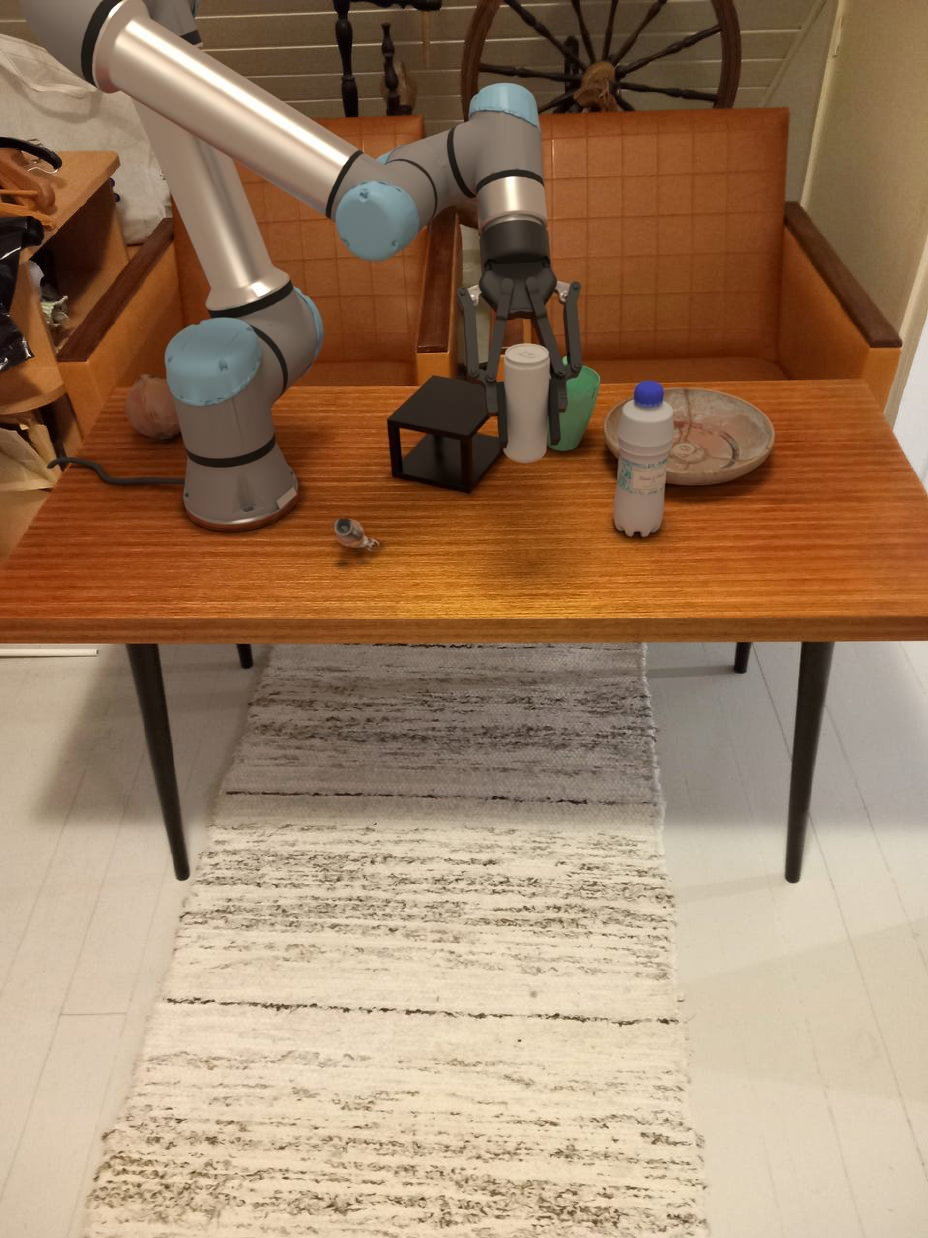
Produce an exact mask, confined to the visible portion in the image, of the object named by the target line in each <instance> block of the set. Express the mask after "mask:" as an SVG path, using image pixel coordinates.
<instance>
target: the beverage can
mask: <svg viewBox="0 0 928 1238" xmlns="http://www.w3.org/2000/svg"><path fill="white" fill-rule="evenodd" d="M549 371H550V358H549V352H548V350H547V349H546V348H544V347H542V346H540V344H536V343H518V344H513V345H512V346H510V347H508V348H507V349H506V350H505V352H504V357H503V381H504V390H505V403H506V417H507V430H508V445H507V448H504V449H503V450H504V455H505V456H506V457H507V458H508V459H509V460H511V461H513V462H516V463H520V464H530V463H535V462H538V461H539V460H540V459H542V458H543V457H544V456H545V455H546V452H547V447H548V445H547V425H548V399H549Z"/></svg>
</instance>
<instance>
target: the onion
mask: <svg viewBox="0 0 928 1238" xmlns="http://www.w3.org/2000/svg"><path fill="white" fill-rule="evenodd" d="M124 412H125V416H126V418H127V421H128V422H129V424H130V425H131V426H132V427H133V428H134V430H135V431H137V432H138V433H140V434H142V435H144V436H146V437H149V438H150V439H154V440H160V441H164V440H172V439H173V437H175V436H178V435H179V434H180V433H181V430H180V426H179V422H178V418H177V414H176V410H175V406H174V402H173V398H172V394H171V391H170V389H169V386H168V384H167V378H160V377H159V376H155V375H154V374H148V373H143V374H141V375H140V378H137V379H136V380H134V383H133V384H132V386H131V388H129V390H128V393H127V395H126V397H125V400H124Z"/></svg>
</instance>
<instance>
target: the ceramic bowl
mask: <svg viewBox="0 0 928 1238" xmlns="http://www.w3.org/2000/svg"><path fill="white" fill-rule="evenodd" d="M663 390H664V396H663V401H664V402H666V403H668V404H669V405H670V406H671V407H672V409H673V417H674V438H673V440H672V441H673V445H672V447H671V449H670V450H669V455H668V464H667V472H666V481H665V484H670V485H671V484H672V485H677V486H691V487H692V486H708V485H714V484H722V483H725V482H729V481H732V480H735V479H737V478H740V477H743V476H744V475H745V476H746V475H747V474H748V473H750V472H752V471H754V470H755V469H757V468H758V467H760V466H761V465H762V464H763V463H764V462H765V461H766V460H767V459H768V457H769V455H770V454H771V452H772V450H773V447H774V446H775V440H776V431H775V427H774V424H773V422H772V421H771V420H770V419H771V418H769V416H767V415H766V413H765V412H763V411H762V410H761V409H759V407H757V406H755V405H754V404H753V403H751V402H749V401H747V400H745V399H743V398H741V397H738V396H736V395H733V394H731V393H727V392H724V391H720V390H715V389H710V388H705V387H695V386H694V387H690V386H689V387H687V386H679V387H678V386H676V387H675V386H674V387H663ZM631 400H634V394H632V395H630V396H628V397H626V398H624V399H622V400H621V401H619V402H617V403H616V404H615V405H614V406H612V407H611V409H610V410H609V411H608V412H607V414H606V415H605V417H604V420H603V424H602V434H603V435H602V436H603V439H604V442H605V444H606V446H607V448H608V449H609V451H610V452H611V453H612V455H613V456H614V457H615V458H616V459H617V460H619V449H620V448H619V446H618V443H617V439H618V434H617V430H618V427H619V423H620V418H621V414H622V409H623V407H624V405H625V404H626V403H627V402H629V401H631Z"/></svg>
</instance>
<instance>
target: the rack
mask: <svg viewBox="0 0 928 1238" xmlns="http://www.w3.org/2000/svg"><path fill="white" fill-rule="evenodd" d="M490 418H491V417H488V414H487V412H486V399H485V389H484V388H483V386H481V385H479V384H470V383H469V382H468V381H467V380H463V379H458V378H452V377H446V376H441V375H436V374H433V375H432V376H430V377H429V378H428V379H427V380H426V381H425V382H424V383H423V384H422V385H420V387H419V388H418V389H416V390H415V392H414V393H412V395H410V396H409V398H407V399H406V400H405V401H404V402H403V403H402V404H401V405H400V406H398V407H397V409H396V410H395V411H394V412H392V414H390V416H388V417H387V418H386V425H387V426H386V427H387V436H388V447H389V457H390V459H389V460H390V469H391V477H392V478H396V479H400V480H405V481H409V482H412V483H413V482H414V483H418V484H422V485H427V486H430V487H431V486H432V487H437V488H441V489H444V490H448V491H449V490H450V491H453V492H458V493H462V494H468V495H471V494H472V492H473V491H474V490H475V489H476V488H477V487H478V485H479V484H480V483H481V481H483V479H484V478H485V477H486V476H487V475H488V473H489V472H490V471H491V470H492V468H494V466H495V465H496V464H497V462H498V461H499V460H500V459H501V458H502V456H503V455H505V453H504V450H503V449H499V437H498V436H494V435H489V434H483V433H478V432H479V431H480V430H481V428H482V427H483V426H484V425H485V424H486V423H487V421H489V420H490ZM400 429H402V430H408V431H411V432H417V433H423V434H426V435H424V436H423V438H422V439H421V440H420V441H419V442H418V443H417V444H416V445H415V446H414V447H413V448H412V449H411V450H410V451H409V453H407V454H406V455H405V456H404V458H403V454H402V453H403V452H402V441H401V440H402V439H401V431H400Z"/></svg>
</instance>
